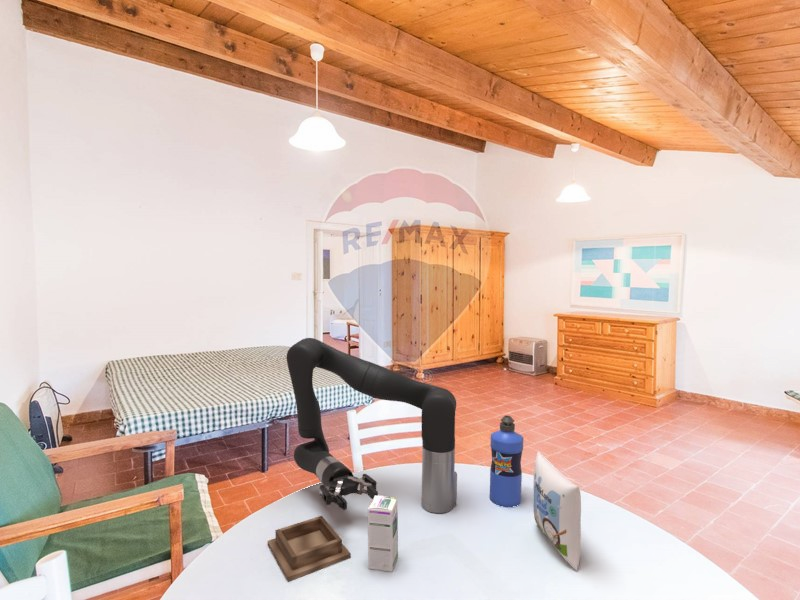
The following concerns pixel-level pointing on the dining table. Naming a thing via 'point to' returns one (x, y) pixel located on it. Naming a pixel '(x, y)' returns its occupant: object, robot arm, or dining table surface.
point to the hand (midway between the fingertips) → (361, 501)
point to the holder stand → (307, 547)
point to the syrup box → (382, 533)
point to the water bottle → (506, 465)
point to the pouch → (557, 509)
